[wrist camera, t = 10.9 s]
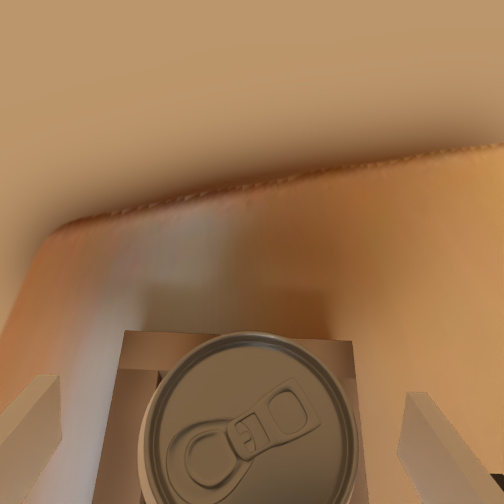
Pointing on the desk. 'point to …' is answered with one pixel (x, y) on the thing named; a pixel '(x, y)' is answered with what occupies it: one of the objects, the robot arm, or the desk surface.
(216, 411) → the can
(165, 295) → the desk surface
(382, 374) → the desk surface
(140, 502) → the holder
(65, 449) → the desk surface
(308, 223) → the desk surface
